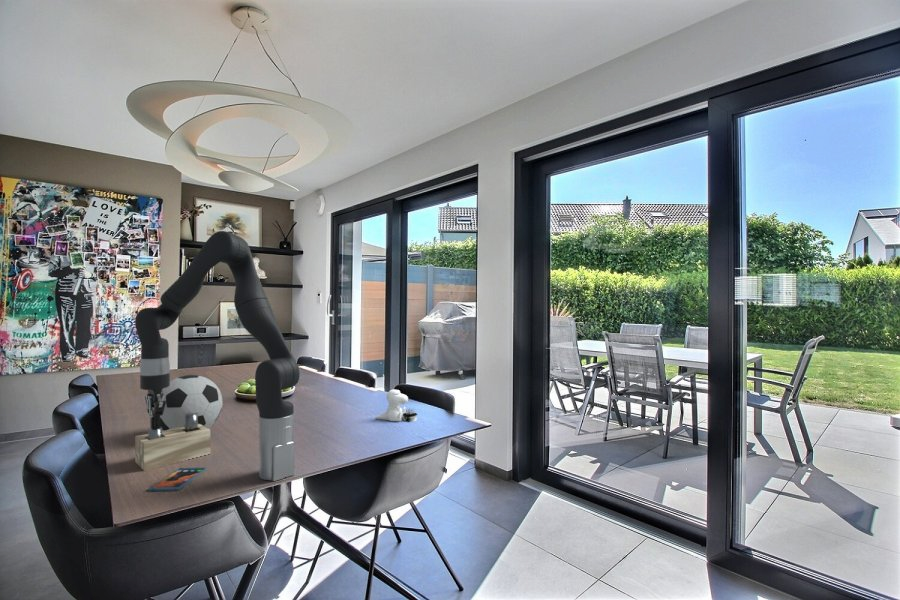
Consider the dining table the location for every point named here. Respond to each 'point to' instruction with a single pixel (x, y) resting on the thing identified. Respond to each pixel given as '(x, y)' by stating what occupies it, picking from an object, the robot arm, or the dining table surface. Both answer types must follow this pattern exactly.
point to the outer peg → (154, 433)
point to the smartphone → (176, 479)
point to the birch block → (171, 447)
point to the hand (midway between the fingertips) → (155, 428)
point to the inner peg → (191, 422)
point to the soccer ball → (190, 401)
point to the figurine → (397, 408)
